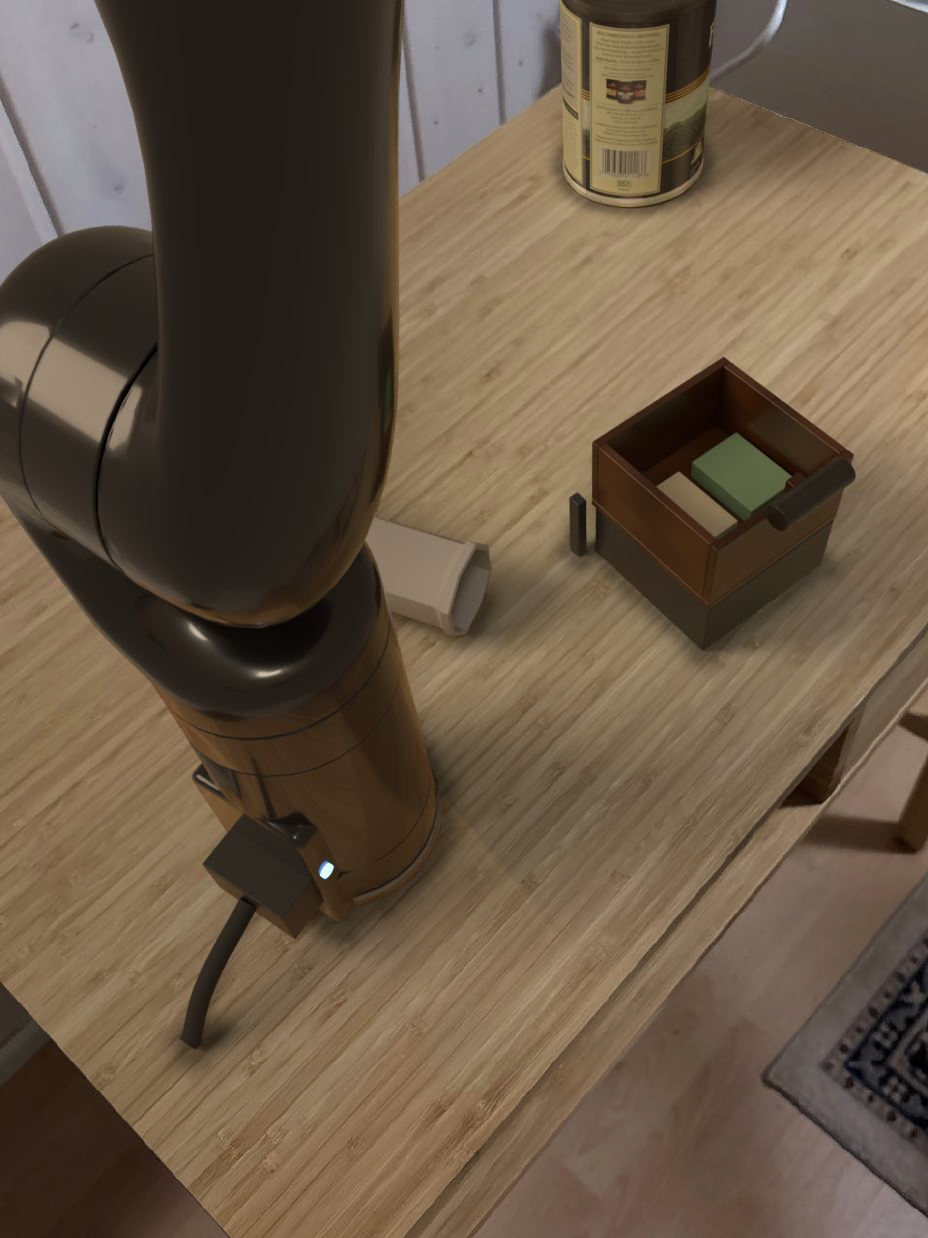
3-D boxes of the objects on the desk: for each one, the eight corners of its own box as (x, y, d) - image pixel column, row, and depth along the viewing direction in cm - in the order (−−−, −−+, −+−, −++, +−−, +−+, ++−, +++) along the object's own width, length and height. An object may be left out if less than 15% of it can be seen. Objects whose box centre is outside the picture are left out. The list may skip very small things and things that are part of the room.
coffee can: (675, 108, 87) (689, -89, 75) (724, 189, 81) (747, -11, 69) (544, 138, 86) (537, -56, 75) (583, 222, 81) (583, 26, 69)
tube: (48, 494, 66) (440, 623, 58) (87, 411, 67) (478, 528, 59) (97, 526, 71) (464, 649, 63) (132, 449, 72) (498, 561, 64)
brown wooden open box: (862, 539, 59) (894, 443, 53) (733, 634, 56) (751, 545, 50) (714, 421, 64) (728, 322, 58) (591, 504, 62) (591, 409, 56)
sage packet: (793, 494, 60) (796, 479, 59) (748, 525, 59) (751, 511, 58) (733, 446, 62) (736, 431, 61) (690, 476, 61) (691, 461, 60)
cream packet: (735, 535, 59) (738, 520, 58) (689, 567, 58) (691, 553, 57) (677, 485, 61) (678, 470, 60) (631, 516, 60) (632, 501, 59)
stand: (834, 554, 63) (850, 501, 59) (689, 662, 60) (695, 613, 57) (710, 453, 68) (717, 398, 64) (569, 548, 65) (568, 497, 61)
